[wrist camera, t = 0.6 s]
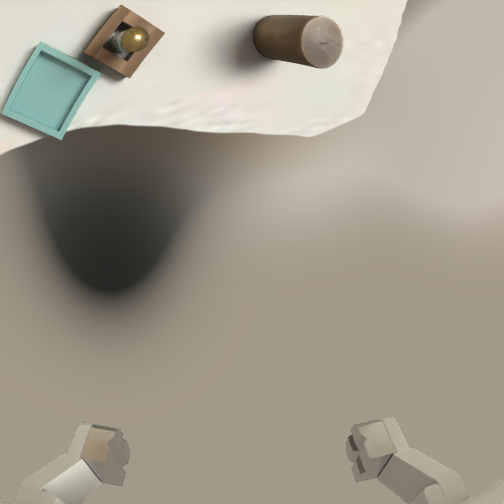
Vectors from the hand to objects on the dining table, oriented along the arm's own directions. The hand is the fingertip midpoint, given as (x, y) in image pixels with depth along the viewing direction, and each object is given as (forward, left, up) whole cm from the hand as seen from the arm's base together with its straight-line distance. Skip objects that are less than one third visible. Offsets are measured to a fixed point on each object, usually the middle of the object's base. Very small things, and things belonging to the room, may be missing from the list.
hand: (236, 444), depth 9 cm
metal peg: (-2, +12, -50) cm, 51 cm away
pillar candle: (+20, +31, -50) cm, 62 cm away
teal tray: (-8, 0, -50) cm, 50 cm away
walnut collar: (-2, +12, -50) cm, 51 cm away
